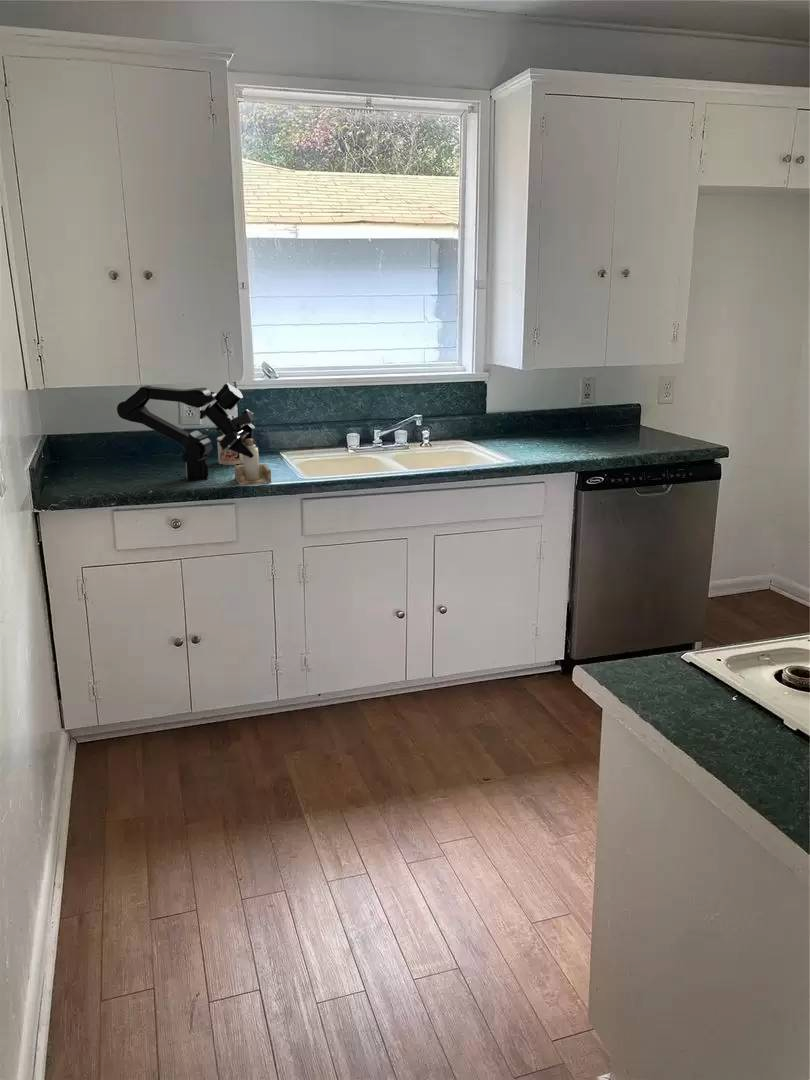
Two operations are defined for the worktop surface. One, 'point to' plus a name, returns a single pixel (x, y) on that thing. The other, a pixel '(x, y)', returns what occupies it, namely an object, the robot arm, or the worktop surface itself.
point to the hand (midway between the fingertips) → (256, 454)
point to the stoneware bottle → (251, 462)
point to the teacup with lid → (228, 455)
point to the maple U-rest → (265, 477)
